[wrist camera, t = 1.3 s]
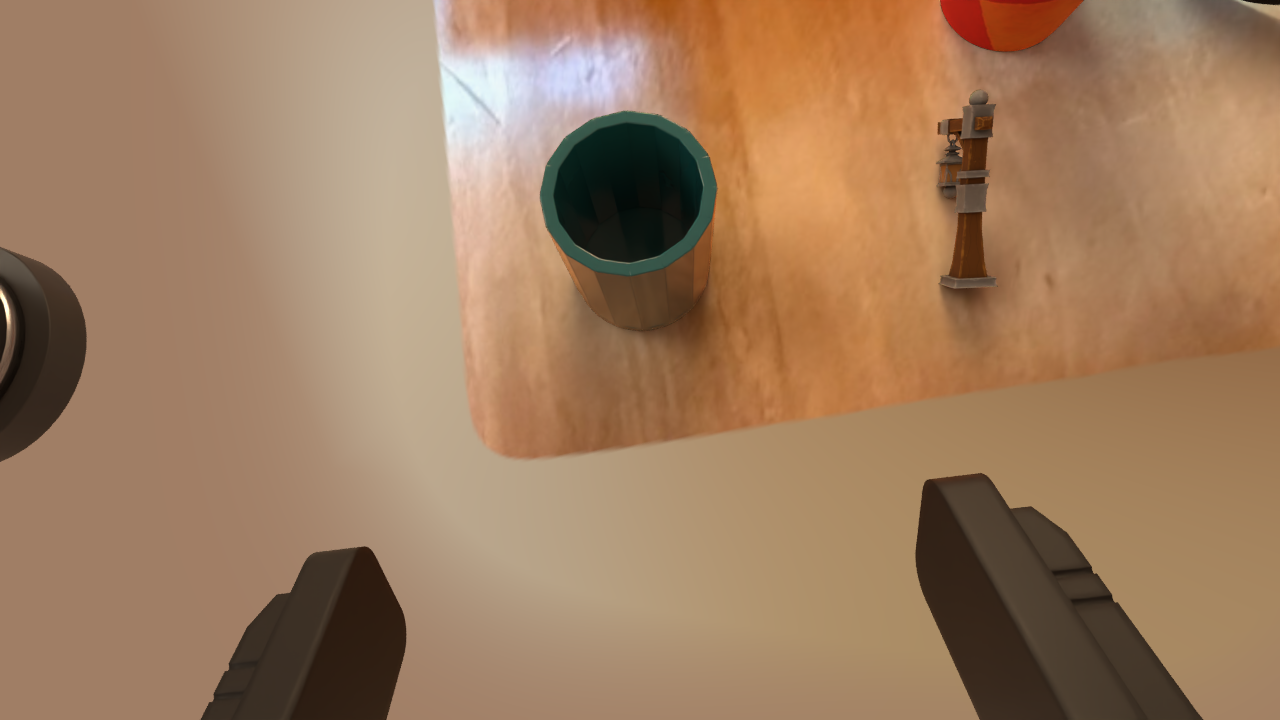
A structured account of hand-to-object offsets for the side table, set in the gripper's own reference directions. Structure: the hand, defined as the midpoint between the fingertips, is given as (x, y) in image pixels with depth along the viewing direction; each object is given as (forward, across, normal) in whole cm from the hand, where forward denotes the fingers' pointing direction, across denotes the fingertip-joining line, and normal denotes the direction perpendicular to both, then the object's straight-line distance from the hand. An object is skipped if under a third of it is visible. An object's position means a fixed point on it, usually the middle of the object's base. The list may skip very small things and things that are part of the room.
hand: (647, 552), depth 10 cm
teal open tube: (+23, 0, +6) cm, 23 cm away
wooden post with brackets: (+23, -14, +6) cm, 28 cm away
